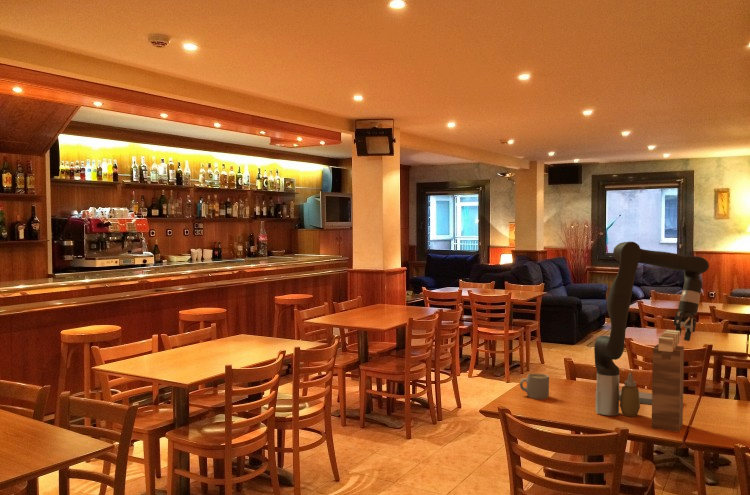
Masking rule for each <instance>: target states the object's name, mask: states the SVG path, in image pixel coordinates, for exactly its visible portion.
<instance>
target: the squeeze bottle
mask: <svg viewBox="0 0 750 495" xmlns="http://www.w3.org/2000/svg"><path fill="white" fill-rule="evenodd" d="M621 390H622V392H621V400H619V409H620V411H621V414H622V415H623V416H626V417H637V416H638V414H639V412H640V409H641V403H640V401H639V392H640V391H639V388H638V387H637V381H635V380H634V376H633V373H631V372H629V373H628V376H627V380H625V381H624V385H623V386H622V387H621Z"/></svg>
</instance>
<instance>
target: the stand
mask: <svg viewBox="0 0 750 495" xmlns="http://www.w3.org/2000/svg"><path fill="white" fill-rule="evenodd" d="M684 350H685V346H683V345H682V346H680V345H678V346H677V347H676V348H675V349H674V351H673V352H668V351H659V343H657V344H656V345H654V347H653V348H652V374H651V375H652V376H651V377H652V378H651V381H652V383H651V386H652V388H651V393H652V405H651V429H658V430H663V431H668V430H669V432H675V431H677V432H676V433H680V431H681V429H682V427H683V425H682V424H684V421H683V419H684V414H683V413H684V374H685V373H684V371H685V370H684V368H685V367H684V366H685V365H684V358H685V355H684V354H685V351H684Z"/></svg>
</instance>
